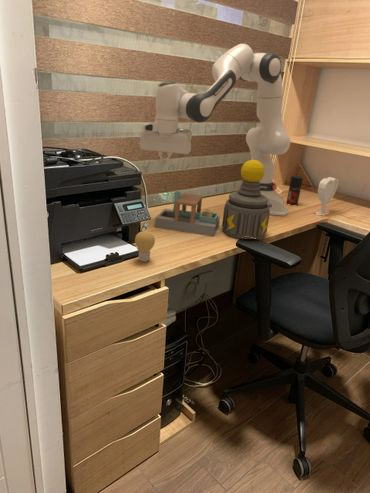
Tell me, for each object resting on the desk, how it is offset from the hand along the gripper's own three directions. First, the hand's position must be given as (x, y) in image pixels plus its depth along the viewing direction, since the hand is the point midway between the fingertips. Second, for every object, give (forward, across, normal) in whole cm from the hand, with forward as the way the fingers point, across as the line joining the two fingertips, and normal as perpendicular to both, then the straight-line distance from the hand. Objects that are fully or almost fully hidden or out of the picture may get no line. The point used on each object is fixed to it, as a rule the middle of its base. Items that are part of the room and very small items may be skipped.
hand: (164, 163), depth 152 cm
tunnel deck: (+25, -11, 0) cm, 27 cm away
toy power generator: (+26, -35, -3) cm, 43 cm away
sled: (+21, -14, 0) cm, 25 cm away
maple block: (+21, -19, 0) cm, 29 cm away
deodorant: (+26, -56, -60) cm, 86 cm away
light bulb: (+25, -6, +39) cm, 47 cm away
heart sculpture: (+26, -71, -51) cm, 91 cm away
